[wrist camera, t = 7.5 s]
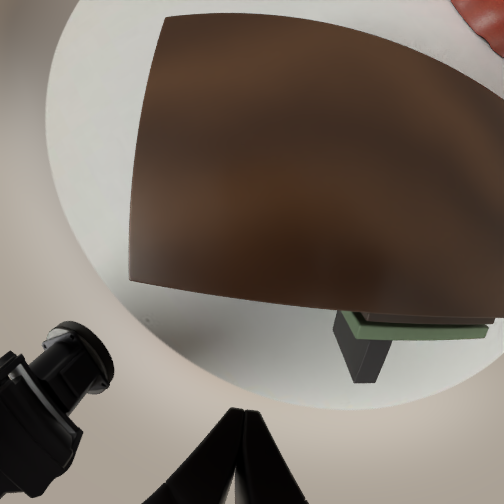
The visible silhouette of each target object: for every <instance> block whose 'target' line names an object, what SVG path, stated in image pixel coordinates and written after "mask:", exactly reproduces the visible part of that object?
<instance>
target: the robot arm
mask: <svg viewBox="0 0 504 504" xmlns="http://www.w3.org/2000/svg"><path fill="white" fill-rule="evenodd" d="M42 346H43V348H44V350H45V351H44V352H43V353H42V354H41V355H40V356H38V357H37V358H36V359H35V360H34V361H33V362H32V363H30V364H29V365H28V364H27V363H26V361H25V358H24V356H23V355H22V354H20V355H19V356H16V354H14V353H13V352H12V351H9V352H8V353H6V354H5V355H4V356H2V357H1V358H0V499H1V498H2V497H3V496H4V495H5V494H6V493H17V492H24V493H25V494H27V495H28V496H29V497H30V498H35V497H38V496H41V495H42V494H43V493H44V491H45V490H46V489H47V487H48V486H49V484H50V483H51V482H52V481H53V480H54V479H55V478H56V477H59V476H61V475H62V474H63V473H65V472H66V471H67V470H68V468H69V467H70V466H71V464H72V462H73V459H74V457H75V454H76V451H77V448H78V445H79V443H80V440H81V437H82V434H83V431H82V430H81V429H80V428H79V427H77V426H76V425H75V424H74V423H73V422H72V420H71V419H70V418H69V417H68V416H69V415H70V414H71V412H72V411H73V410H74V409H75V407H76V406H77V405H78V403H79V402H80V401H81V399H82V398H83V397H84V396H85V395H86V393H87V392H88V391H95V390H103V389H107V388H108V387H109V386H110V383H109V382H108V380H107V379H106V378H105V376H104V375H103V373H102V372H101V370H100V369H99V368H98V366H97V365H96V363H95V362H94V360H93V359H92V357H91V355H90V354H89V352H88V351H87V349H86V348H85V346H84V344H83V343H82V341H81V339H80V338H79V336H78V334H77V333H76V332H75V331H70V332H67V333H64V334H62V335H59V336H56V337H54V338H51V339H48V340H46V341H44V342H43V343H42ZM8 375H9V376H10V377H11V379H12V380H11V379H10V378H9V377H8ZM235 468H236V469H235ZM234 472H235V504H309V503H308V502H307V500H305V497H304V495H303V493H302V491H301V490H300V488H299V486H298V484H297V483H296V481H295V479H294V477H293V475H292V474H291V472H290V470H289V468H288V466H287V464H286V463H285V461H284V459H283V457H282V455H281V453H280V451H279V449H278V447H277V445H276V443H275V441H274V440H273V438H272V436H271V434H270V432H269V430H268V428H267V426H266V424H265V422H264V420H263V418H262V416H261V414H260V412H259V411H254V410H245V412H244V410H243V409H239V408H233V407H232V408H230V409H229V410H228V411H227V412H226V414H225V415H224V416H223V417H222V418H221V420H220V421H219V422H218V423H217V424H216V426H215V427H214V428H213V429H212V430H211V431H210V433H209V434H208V435H207V436H206V437H205V438H204V440H203V441H202V442H201V443H200V444H199V446H198V447H197V448H196V449H195V450H194V451H193V452H192V453H191V454H190V456H189V457H188V458H187V459H186V460H185V461H184V462H183V463H182V464H181V465H180V467H179V468H178V469H177V470H176V471H175V472H174V473H173V474H172V475H171V476H170V477H169V479H167V480H166V483H163V484H162V485H161V486H160V487H159V488H158V489H157V490H156V491H155V492H154V493H153V494H152V495H151V496H150V497H149V498H148V499H147V500H145V501H144V502H143V503H142V504H225V501H226V498H227V495H228V492H229V489H230V486H231V483H232V480H233V476H234Z"/></svg>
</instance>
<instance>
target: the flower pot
mask: <svg viewBox="0 0 504 504" xmlns="http://www.w3.org/2000/svg"><path fill="white" fill-rule="evenodd" d="M451 2H452V3H453V5H454V6H455V8H456V9H457V11H458V12H459V13H460V15H461V16H462V17H463V18H464V20H465V21H466V22H467V23H468V25H469V26H470V27H471V28H472V29H473V30H474V31H475V33H476V34H478V35H480V36H482V37H483V38H485V39H486V40H487V41H488V43H489V44H490V47H491V48H492V49H493V50H494V51H495V52H496V53H498V54H499V55H500V56H502V57H503V58H504V0H451Z"/></svg>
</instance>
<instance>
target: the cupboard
mask: <svg viewBox="0 0 504 504" xmlns="http://www.w3.org/2000/svg"><path fill="white" fill-rule="evenodd" d="M129 280H130V281H135V282H140V283H146V284H151V285H156V286H162V287H168V288H173V289H179V290H185V291H191V292H197V293H204V294H210V295H216V296H223V297H230V298H237V299H244V300H251V301H259V302H267V303H275V304H283V305H292V306H300V307H310V308H319V309H329V310H340V311H351V312H361V314H362V315H363V316H364V318H365V319H366V321H372V322H389V323H412V324H493V323H494V320H495V318H504V100H503V99H502V98H500V97H499V96H498V95H496V94H495V93H493V92H492V91H490V90H489V89H487V88H486V87H484V86H483V85H481V84H479V83H478V82H476V81H475V80H473V79H471V78H470V77H468V76H466V75H464V74H463V73H461V72H459V71H457V70H455V69H453V68H452V67H450V66H448V65H446V64H444V63H442V62H440V61H438V60H436V59H434V58H431V57H429V56H427V55H425V54H423V53H420V52H418V51H416V50H413V49H411V48H408V47H406V46H403V45H401V44H398V43H395V42H392V41H390V40H387V39H384V38H381V37H378V36H375V35H371V34H368V33H365V32H361V31H358V30H354V29H350V28H346V27H342V26H338V25H333V24H329V23H324V22H319V21H313V20H307V19H301V18H294V17H286V16H277V15H265V14H248V13H209V14H192V15H180V16H171V17H166V18H165V20H164V23H163V26H162V29H161V32H160V36H159V39H158V43H157V46H156V50H155V53H154V57H153V61H152V65H151V69H150V73H149V77H148V82H147V86H146V91H145V96H144V101H143V106H142V112H141V117H140V123H139V129H138V136H137V143H136V151H135V159H134V167H133V177H132V189H131V202H130V221H129Z"/></svg>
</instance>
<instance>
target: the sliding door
mask: <svg viewBox="0 0 504 504" xmlns="http://www.w3.org/2000/svg"><path fill="white" fill-rule="evenodd" d="M488 329H489V327H488V326H486V325H485V324H412V323H389V322H372V321H366V319H365V318H364V316H363V315H362V314H361V312H351V311H340V310H337V314H336V318H335V322H334V326H333V332H334V334H335V337H336V339H337V342H338V344H339V347H340V349H341V352H342V354H343V357H344V359H345V362H346V364H347V367H348V369H349V372H350V375H351V377H352V380H353V382H354V383H375V382H376V380H377V377H378V375H379V373H380V370H381V368H382V366H383V363H384V361H385V358H386V356H387V353H388V351H389V348H390V346H391V343H392V340H459V339H477V338H485V336H486V334H487V331H488Z"/></svg>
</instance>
